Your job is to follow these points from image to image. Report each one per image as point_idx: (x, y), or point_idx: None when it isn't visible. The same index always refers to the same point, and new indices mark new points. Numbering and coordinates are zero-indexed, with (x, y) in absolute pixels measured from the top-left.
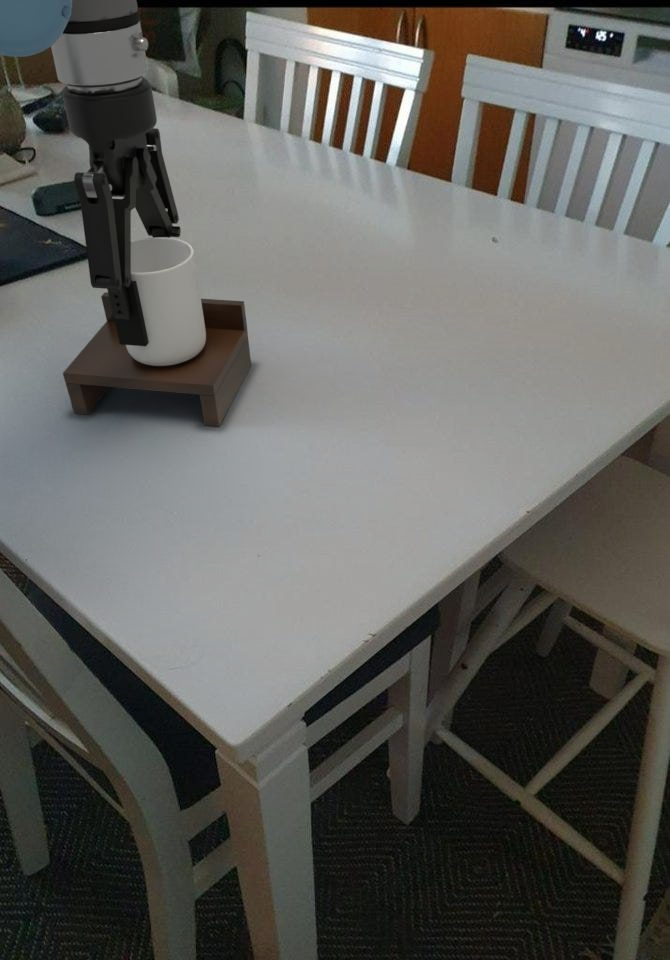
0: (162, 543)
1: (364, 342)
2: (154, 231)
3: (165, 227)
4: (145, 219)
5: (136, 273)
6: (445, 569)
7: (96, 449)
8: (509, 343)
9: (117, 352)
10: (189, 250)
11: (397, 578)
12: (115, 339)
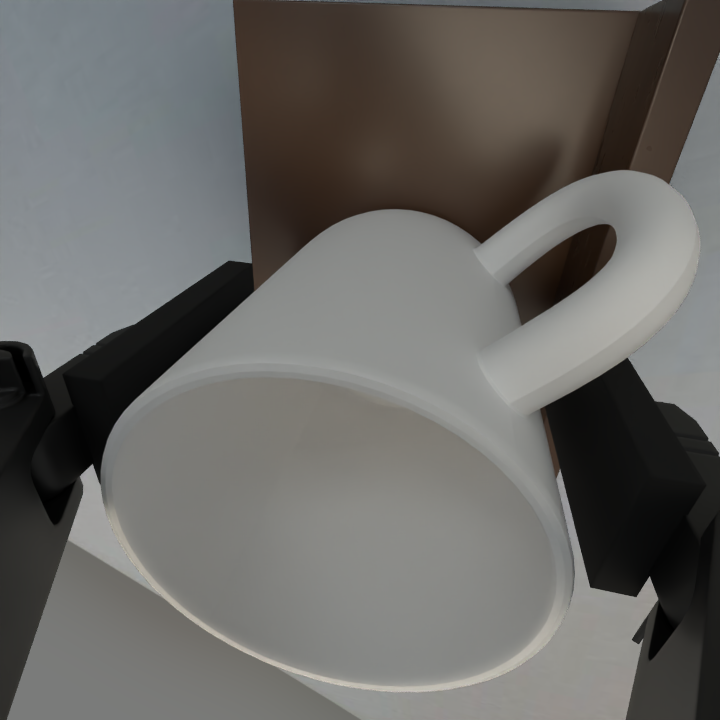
0: (36, 336)
1: (585, 573)
2: (696, 575)
3: (638, 672)
4: (685, 671)
5: (114, 525)
6: (130, 575)
7: (180, 153)
8: (549, 702)
9: (379, 162)
10: (422, 665)
11: (104, 544)
12: (469, 120)
